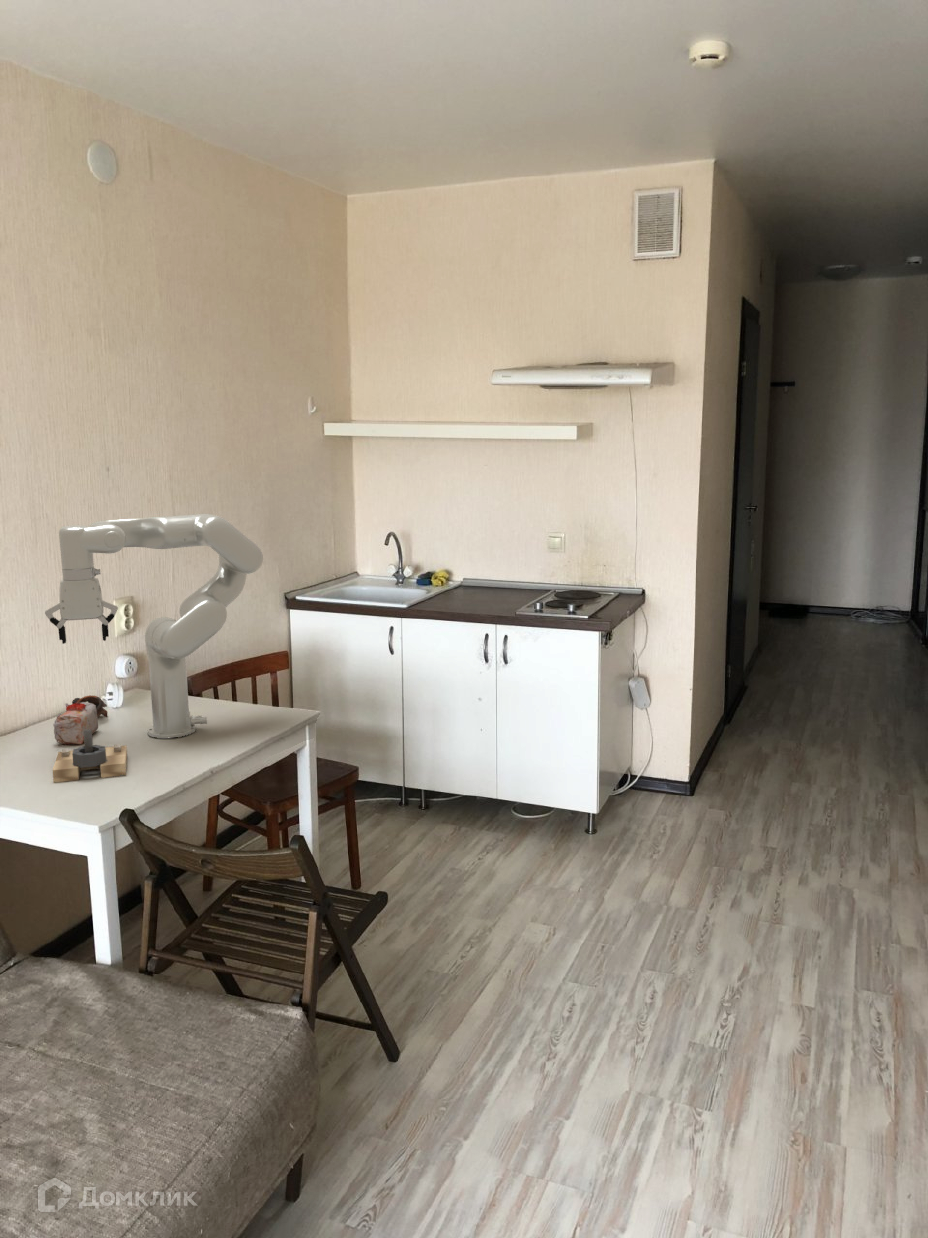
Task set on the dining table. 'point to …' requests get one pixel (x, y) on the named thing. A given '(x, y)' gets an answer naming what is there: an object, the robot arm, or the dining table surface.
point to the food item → (75, 723)
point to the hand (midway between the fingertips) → (84, 641)
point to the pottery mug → (95, 701)
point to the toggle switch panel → (110, 768)
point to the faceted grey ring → (89, 756)
